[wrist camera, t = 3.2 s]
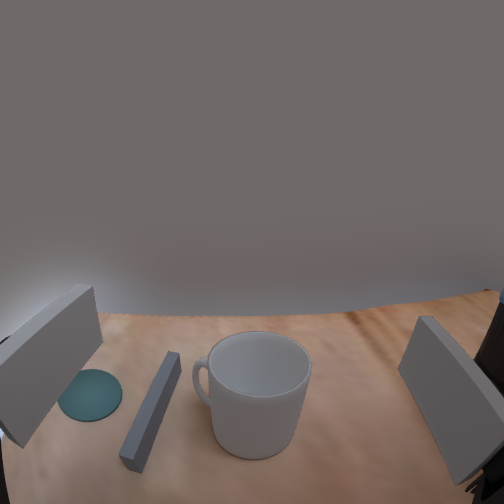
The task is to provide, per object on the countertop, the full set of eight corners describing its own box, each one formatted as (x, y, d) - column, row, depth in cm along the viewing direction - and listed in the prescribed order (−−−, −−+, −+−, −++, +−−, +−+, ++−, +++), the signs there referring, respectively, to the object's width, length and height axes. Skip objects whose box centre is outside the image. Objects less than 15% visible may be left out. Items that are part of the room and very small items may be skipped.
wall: (171, 369, 36) (168, 351, 35) (181, 370, 36) (179, 353, 35) (128, 469, 19) (118, 454, 18) (141, 473, 19) (132, 459, 18)
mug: (292, 464, 22) (315, 401, 19) (182, 450, 23) (165, 383, 20) (293, 404, 31) (308, 334, 27) (202, 394, 32) (196, 323, 29)
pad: (99, 362, 35) (98, 360, 35) (136, 398, 30) (135, 396, 29) (48, 388, 27) (47, 386, 27) (77, 433, 22) (76, 431, 21)
